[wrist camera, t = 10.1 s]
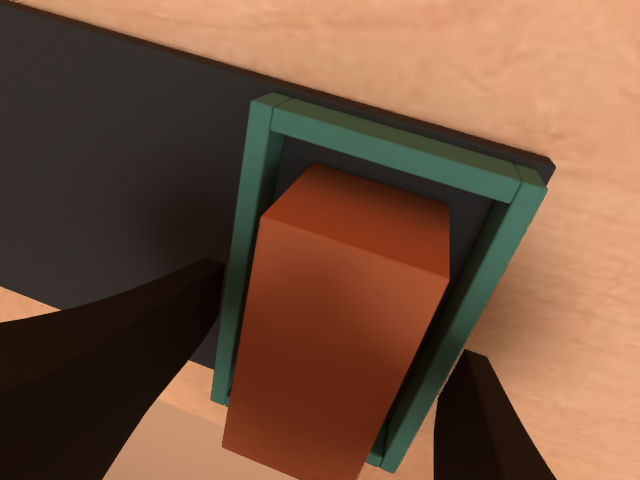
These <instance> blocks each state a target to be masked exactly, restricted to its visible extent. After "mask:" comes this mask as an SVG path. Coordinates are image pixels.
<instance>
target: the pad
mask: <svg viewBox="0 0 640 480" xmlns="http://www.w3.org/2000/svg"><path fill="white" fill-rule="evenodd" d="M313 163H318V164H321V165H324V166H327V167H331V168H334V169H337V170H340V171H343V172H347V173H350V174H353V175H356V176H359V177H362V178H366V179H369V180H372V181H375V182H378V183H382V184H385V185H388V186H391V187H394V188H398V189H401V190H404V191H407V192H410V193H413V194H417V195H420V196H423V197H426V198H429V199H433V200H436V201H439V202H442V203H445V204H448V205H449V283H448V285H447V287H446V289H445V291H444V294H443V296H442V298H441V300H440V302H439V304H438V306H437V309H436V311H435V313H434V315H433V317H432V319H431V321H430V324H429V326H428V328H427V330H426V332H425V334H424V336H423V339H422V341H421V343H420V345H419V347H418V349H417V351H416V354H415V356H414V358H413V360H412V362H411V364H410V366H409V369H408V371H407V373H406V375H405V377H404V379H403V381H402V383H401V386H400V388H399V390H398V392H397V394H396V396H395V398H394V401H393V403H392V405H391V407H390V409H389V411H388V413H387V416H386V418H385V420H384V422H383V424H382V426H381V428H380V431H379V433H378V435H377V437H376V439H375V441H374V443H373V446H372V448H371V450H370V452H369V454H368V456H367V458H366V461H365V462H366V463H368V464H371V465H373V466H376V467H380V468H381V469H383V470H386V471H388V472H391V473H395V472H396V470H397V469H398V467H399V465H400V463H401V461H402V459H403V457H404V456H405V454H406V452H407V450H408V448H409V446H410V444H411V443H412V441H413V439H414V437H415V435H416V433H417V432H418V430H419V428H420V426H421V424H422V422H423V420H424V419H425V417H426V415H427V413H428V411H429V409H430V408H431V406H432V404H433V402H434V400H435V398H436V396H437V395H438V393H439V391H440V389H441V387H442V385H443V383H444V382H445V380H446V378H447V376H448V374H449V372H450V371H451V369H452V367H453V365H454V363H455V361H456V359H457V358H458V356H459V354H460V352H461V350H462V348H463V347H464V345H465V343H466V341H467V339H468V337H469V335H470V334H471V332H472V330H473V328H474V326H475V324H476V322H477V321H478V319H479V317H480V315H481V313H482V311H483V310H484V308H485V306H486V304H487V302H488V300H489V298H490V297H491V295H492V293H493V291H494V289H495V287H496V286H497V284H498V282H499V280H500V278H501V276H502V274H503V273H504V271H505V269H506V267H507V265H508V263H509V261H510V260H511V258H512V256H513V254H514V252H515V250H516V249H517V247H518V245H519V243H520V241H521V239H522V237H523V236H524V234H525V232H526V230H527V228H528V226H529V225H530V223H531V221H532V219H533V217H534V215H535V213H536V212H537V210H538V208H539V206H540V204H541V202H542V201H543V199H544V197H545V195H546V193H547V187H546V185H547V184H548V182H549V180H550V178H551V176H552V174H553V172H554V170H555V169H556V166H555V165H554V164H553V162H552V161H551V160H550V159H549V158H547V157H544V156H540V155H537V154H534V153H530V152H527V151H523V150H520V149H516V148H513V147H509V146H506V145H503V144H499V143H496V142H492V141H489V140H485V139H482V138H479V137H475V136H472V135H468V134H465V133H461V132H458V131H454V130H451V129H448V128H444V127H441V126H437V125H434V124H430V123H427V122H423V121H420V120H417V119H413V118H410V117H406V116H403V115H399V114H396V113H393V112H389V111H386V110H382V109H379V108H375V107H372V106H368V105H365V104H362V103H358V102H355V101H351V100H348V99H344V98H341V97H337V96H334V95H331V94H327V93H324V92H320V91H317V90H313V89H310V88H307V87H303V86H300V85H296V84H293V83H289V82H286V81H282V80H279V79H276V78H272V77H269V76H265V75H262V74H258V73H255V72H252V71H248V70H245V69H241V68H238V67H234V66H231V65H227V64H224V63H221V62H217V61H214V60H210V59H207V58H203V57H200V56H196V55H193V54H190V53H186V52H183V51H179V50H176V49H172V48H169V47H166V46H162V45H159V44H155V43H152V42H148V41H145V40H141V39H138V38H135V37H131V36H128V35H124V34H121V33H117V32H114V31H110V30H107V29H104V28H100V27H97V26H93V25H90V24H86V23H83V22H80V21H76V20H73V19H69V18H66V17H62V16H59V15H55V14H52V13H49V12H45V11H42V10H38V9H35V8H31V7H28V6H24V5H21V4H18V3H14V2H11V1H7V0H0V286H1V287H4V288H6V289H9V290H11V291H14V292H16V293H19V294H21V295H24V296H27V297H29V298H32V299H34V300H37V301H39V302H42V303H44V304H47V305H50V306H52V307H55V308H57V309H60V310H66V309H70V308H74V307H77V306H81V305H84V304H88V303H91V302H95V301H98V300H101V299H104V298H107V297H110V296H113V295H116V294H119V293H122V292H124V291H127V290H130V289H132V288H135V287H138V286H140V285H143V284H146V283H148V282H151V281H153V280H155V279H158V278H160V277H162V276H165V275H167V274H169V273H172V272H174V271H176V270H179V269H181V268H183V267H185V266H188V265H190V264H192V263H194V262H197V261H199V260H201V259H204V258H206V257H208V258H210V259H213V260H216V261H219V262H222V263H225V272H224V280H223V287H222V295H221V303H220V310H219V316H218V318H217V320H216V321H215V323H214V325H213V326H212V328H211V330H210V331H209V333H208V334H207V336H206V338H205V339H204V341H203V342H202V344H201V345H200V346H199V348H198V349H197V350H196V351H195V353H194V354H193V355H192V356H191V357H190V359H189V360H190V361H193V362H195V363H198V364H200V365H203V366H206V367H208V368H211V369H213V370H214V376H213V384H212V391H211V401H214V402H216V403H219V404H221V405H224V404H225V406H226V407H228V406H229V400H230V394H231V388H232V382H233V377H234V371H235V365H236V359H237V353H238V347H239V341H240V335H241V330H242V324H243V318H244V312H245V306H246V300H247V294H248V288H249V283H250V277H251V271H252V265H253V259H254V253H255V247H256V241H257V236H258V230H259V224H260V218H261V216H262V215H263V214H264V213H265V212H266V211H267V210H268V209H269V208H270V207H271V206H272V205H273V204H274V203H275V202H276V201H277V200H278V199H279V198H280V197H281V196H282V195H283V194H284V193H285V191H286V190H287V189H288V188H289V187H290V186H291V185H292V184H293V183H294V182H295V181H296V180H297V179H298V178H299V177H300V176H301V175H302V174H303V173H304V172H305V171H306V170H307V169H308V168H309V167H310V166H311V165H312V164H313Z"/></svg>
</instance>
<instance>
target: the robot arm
mask: <svg viewBox="0 0 640 480" xmlns="http://www.w3.org/2000/svg"><path fill="white" fill-rule="evenodd" d="M224 272H225V263H222V262H219V261H216V260H213V259H210V258H208V257H206V258H204V259H201V260H199V261H197V262H194V263H192V264H190V265H188V266H185V267H183V268H181V269H179V270H176V271H174V272H172V273H169V274H167V275H165V276H162V277H160V278H158V279H155V280H153V281H151V282H148V283H146V284H143V285H140V286H138V287H135V288H132V289H130V290H127V291H124V292H122V293H119V294H116V295H113V296H110V297H107V298H104V299H101V300H98V301H95V302H91V303H88V304H84V305H81V306H77V307H74V308H70V309H66V310H61V311H57V312H52V313H48V314H43V315H39V316H34V317H30V318H25V319H19V320H13V321H7V322H2V323H0V480H102V479H103V477H104V476H105V474H106V472H107V471H108V469H109V468H110V466H111V465H112V463H113V462H114V460H115V458H116V457H117V455H118V454H119V452H120V451H121V449H122V447H123V446H124V444H125V443H126V441H127V440H128V438H129V437H130V435H131V434H132V432H133V431H134V429H135V428H136V426H137V425H138V424H139V422H140V421H141V419H142V417H143V416H144V415H145V413H146V412H147V411H148V409H149V408H150V407H151V405H152V404H153V403H154V401H155V400H156V399H157V398H158V396H159V395H160V394H161V393H162V392H163V390H164V389H165V388H166V387H167V385H168V384H169V383H170V382H171V381H172V379H173V378H174V377H175V376H176V375H177V373H178V372H179V371H180V370H181V368H182V367H183V366H184V365H185V364H186V362H187V361H188V360H189V359H190V357H191V356H192V355H193V354H194V353H195V351H196V350H197V349H198V348H199V346H200V345H201V344H202V342H203V341H204V339H205V338H206V336H207V334H208V333H209V331H210V330H211V328H212V326H213V325H214V323H215V321H216V320H217V318H218V316H219V310H220V303H221V295H222V287H223V280H224ZM434 480H557V479H556V478H555V476H554V475H553V473H552V472H551V470H550V469H549V467H548V466H547V464H546V463H545V461H544V459H543V458H542V456H541V455H540V453H539V451H538V450H537V448H536V447H535V445H534V443H533V442H532V440H531V438H530V437H529V435H528V433H527V432H526V430H525V428H524V426H523V425H522V423H521V421H520V419H519V417H518V416H517V414H516V412H515V410H514V408H513V406H512V405H511V403H510V401H509V399H508V397H507V395H506V393H505V391H504V389H503V387H502V385H501V383H500V381H499V379H498V377H497V375H496V373H495V371H494V370H493V368H492V366H491V364H490V362H489V360H488V358H487V357H486V356H483V355H480V354H478V353H475V352H472V351H469V350H466V349H465V350H464V351H463V353H462V355H461V357H460V359H459V361H458V362H457V364H456V366H455V368H454V370H453V372H452V373H451V375H450V377H449V379H448V381H447V383H446V384H445V386H444V388H443V390H442V392H441V394H440V395H439V397H438V403H437V410H436V417H435V426H434Z"/></svg>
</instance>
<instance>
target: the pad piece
mask: <svg viewBox="0 0 640 480" xmlns="http://www.w3.org/2000/svg"><path fill="white" fill-rule="evenodd" d="M448 283H449V205H448V204H445V203H442V202H439V201H436V200H433V199H429V198H426V197H423V196H420V195H417V194H413V193H410V192H407V191H404V190H401V189H398V188H394V187H391V186H388V185H385V184H382V183H378V182H375V181H372V180H369V179H366V178H362V177H359V176H356V175H353V174H350V173H347V172H343V171H340V170H337V169H334V168H331V167H327V166H324V165H321V164H318V163H313V164H312V165H311V166H310V167H309V168H308V169H307V170H306V171H305V172H304V173H303V174H302V175H301V176H300V177H299V178H298V179H297V180H296V181H295V182H294V183H293V184H292V185H291V186H290V187H289V188H288V189H287V190H286V191H285V193H284V194H283V195H282V196H281V197H280V198H279V199H278V200H277V201H276V202H275V203H274V204H273V205H272V206H271V207H270V208H269V209H268V210H267V211H266V212H265V213H264V214H263V215H262V216H261V218H260V224H259V230H258V236H257V241H256V247H255V253H254V259H253V265H252V271H251V277H250V283H249V288H248V294H247V300H246V306H245V312H244V318H243V324H242V330H241V335H240V341H239V347H238V353H237V359H236V365H235V371H234V377H233V382H232V388H231V394H230V400H229V406H228V412H227V418H226V424H225V429H224V436H223V441H222V447H223V448H225V449H227V450H229V451H232V452H234V453H237V454H239V455H241V456H244V457H246V458H249V459H251V460H253V461H256V462H258V463H261V464H263V465H266V466H268V467H270V468H273V469H276V470H278V471H280V472H282V473H285V474H287V475H290V476H292V477H294V478H297V479H299V480H357V478H358V476H359V473H360V471H361V469H362V467H363V465H364V463H365V461H366V458H367V456H368V454H369V452H370V450H371V448H372V446H373V443H374V441H375V439H376V437H377V435H378V433H379V431H380V428H381V426H382V424H383V422H384V420H385V418H386V416H387V413H388V411H389V409H390V407H391V405H392V403H393V401H394V398H395V396H396V394H397V392H398V390H399V388H400V386H401V383H402V381H403V379H404V377H405V375H406V373H407V371H408V369H409V366H410V364H411V362H412V360H413V358H414V356H415V354H416V351H417V349H418V347H419V345H420V343H421V341H422V339H423V336H424V334H425V332H426V330H427V328H428V326H429V324H430V321H431V319H432V317H433V315H434V313H435V311H436V309H437V306H438V304H439V302H440V300H441V298H442V296H443V294H444V291H445V289H446V287H447V285H448Z"/></svg>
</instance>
